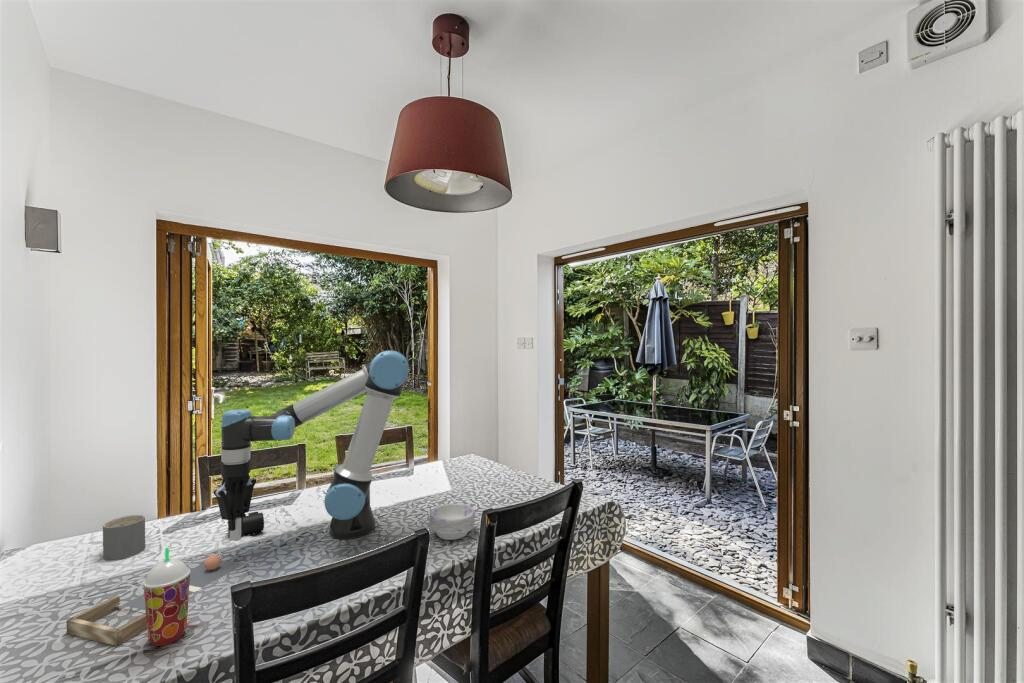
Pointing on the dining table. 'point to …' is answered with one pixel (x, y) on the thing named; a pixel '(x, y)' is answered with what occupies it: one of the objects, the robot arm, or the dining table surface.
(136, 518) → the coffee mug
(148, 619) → the smoothie
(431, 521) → the paper bowls
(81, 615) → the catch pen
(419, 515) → the dining table surface
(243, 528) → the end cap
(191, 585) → the lane
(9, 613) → the dining table surface
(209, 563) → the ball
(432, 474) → the dining table surface
